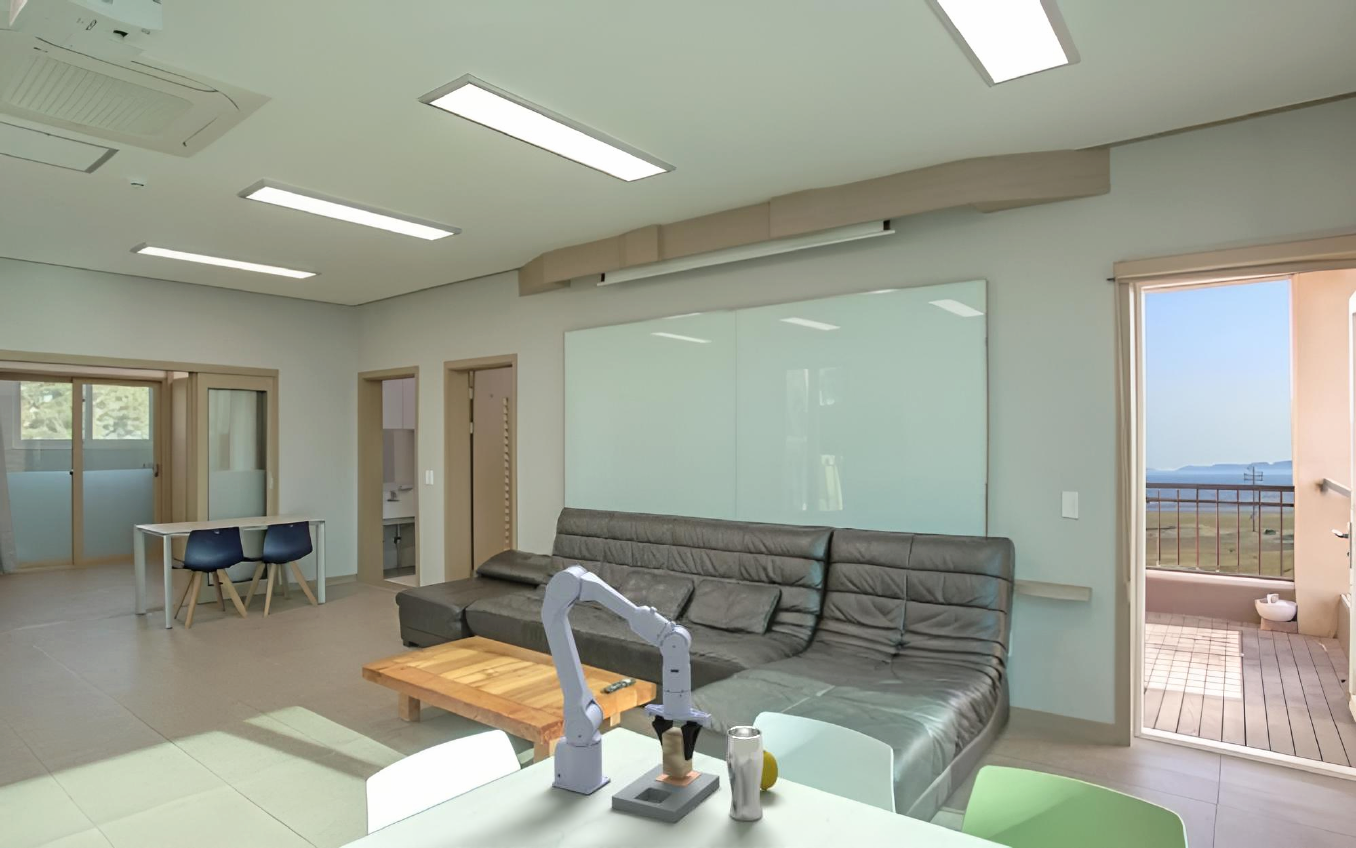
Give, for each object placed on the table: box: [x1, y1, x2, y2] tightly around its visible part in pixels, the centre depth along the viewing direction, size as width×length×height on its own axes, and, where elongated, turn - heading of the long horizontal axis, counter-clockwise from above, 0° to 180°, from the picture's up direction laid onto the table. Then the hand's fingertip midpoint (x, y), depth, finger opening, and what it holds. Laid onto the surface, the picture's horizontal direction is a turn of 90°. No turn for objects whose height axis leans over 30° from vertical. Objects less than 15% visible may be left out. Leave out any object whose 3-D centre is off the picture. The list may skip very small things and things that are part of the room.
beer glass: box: [725, 725, 764, 823], centre depth 141 cm, size 7×7×15 cm
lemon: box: [760, 749, 779, 792], centre depth 151 cm, size 6×6×8 cm
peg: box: [661, 726, 694, 778], centre depth 153 cm, size 4×4×8 cm
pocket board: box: [611, 762, 721, 824], centre depth 149 cm, size 14×18×2 cm
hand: (678, 756), depth 153 cm, fingers closed on peg, 4 cm apart
